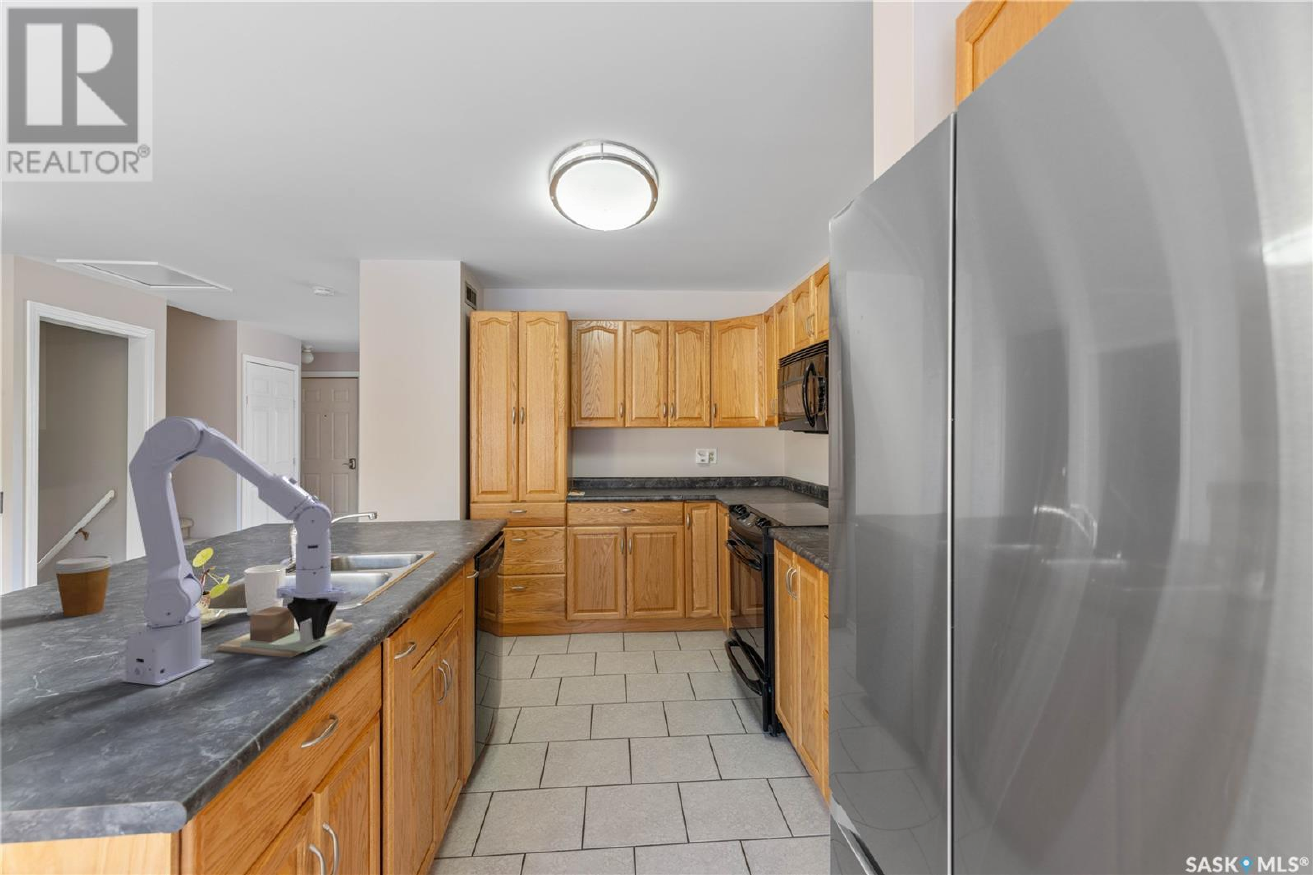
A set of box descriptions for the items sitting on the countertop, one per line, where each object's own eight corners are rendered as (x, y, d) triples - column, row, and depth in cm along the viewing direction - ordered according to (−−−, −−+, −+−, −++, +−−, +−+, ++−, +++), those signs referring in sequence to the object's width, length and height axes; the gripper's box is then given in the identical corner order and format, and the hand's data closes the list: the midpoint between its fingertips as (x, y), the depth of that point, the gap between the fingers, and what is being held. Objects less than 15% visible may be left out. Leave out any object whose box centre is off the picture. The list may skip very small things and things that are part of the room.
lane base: (291, 657, 103) (291, 652, 103) (218, 650, 106) (218, 645, 106) (353, 628, 119) (353, 623, 119) (288, 622, 122) (288, 617, 122)
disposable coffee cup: (66, 608, 130) (66, 557, 129) (120, 603, 134) (120, 553, 134) (42, 621, 121) (43, 566, 121) (101, 616, 125) (101, 562, 125)
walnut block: (272, 642, 106) (272, 616, 106) (250, 640, 107) (250, 614, 107) (294, 633, 111) (294, 607, 111) (272, 631, 112) (272, 606, 112)
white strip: (318, 634, 112) (318, 610, 112) (258, 629, 115) (258, 606, 115) (343, 623, 119) (343, 600, 119) (286, 618, 122) (286, 596, 121)
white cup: (293, 607, 133) (293, 565, 132) (267, 618, 125) (267, 573, 125) (262, 606, 133) (263, 564, 133) (234, 616, 126) (235, 572, 125)
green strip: (305, 651, 104) (305, 626, 104) (241, 645, 106) (241, 620, 106) (333, 638, 110) (333, 614, 110) (272, 633, 113) (272, 609, 113)
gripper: (361, 563, 110) (361, 632, 110) (297, 559, 112) (297, 627, 112) (335, 572, 103) (334, 646, 103) (267, 568, 105) (266, 640, 106)
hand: (313, 637), depth 107 cm, fingers closed on green strip, 2 cm apart
